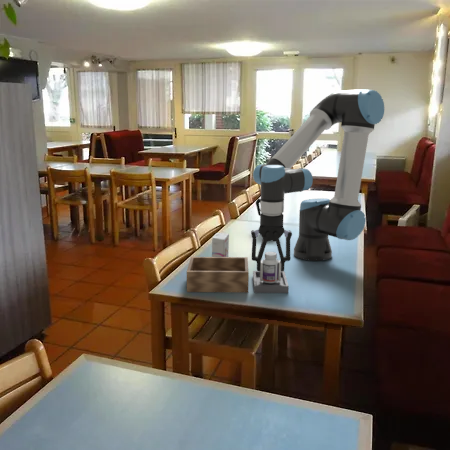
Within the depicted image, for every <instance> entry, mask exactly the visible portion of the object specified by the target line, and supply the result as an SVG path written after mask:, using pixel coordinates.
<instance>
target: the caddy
mask: <svg viewBox="0 0 450 450" xmlns="http://www.w3.org/2000/svg"><path fill="white" fill-rule="evenodd" d="M188 262H189V263H188V265H187V269H186V293H247V294H248V293H249V274H250V273H249V260H248V257H247V256H245V257H243V256H241V257H240V256H238V257H237V256H236V257H235V256H231V257H229V256H228V257H212V256H191V257H190V259H189V261H188Z"/></svg>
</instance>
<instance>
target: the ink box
mask: <svg viewBox="0 0 450 450" xmlns="http://www.w3.org/2000/svg"><path fill="white" fill-rule="evenodd" d="M229 237H230V234H229V233H226V232H225V233H223V232H216V233H215V234H214V235H213V236H212V238H211V257H229V248H230V247H229V246H230V245H229V244H230V243H229V242H230V238H229Z"/></svg>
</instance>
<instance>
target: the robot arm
mask: <svg viewBox="0 0 450 450" xmlns="http://www.w3.org/2000/svg"><path fill="white" fill-rule="evenodd" d="M309 112H310V113H309V116H308V117H307V119H306V120H305V121H304V122H303V123H302V124H301V126H300V127H299V128H298V129H297V130H296V131H295V132H294V133H293V134H292V135H291V136H290V137H289V139H288V140H286V142H285V143H284V144H283V145H282V146H281V147H280V148H279V150H277V151H276V153H275V154H274V155H273V156H272V157H271V158H270V160H269V161H267V162H266V163H263V164H262V163H261V164H258V165H257V166H255V168H254V169H253V172H252V177H253V181H254V182H255V183H256V184H258V185H260V199H261V205H260V206H259V207H260V213H261V214H260V216H259V220H260V221H259V224H260V225H259V227H258V229H256V230H251V231H250V234H251V238H252V241H251V242H252V243H251V261H255V262H256V271H260V281H263V254H265V253H264V252H265V249H266V246H267V243H268V242H275V244H276V247H277V251H278V252H277V253H278V255H279V259H280V260H278V259H277V260H278V261H279V268H278V281H281V271H284V272H285V263H286V262H289V261H291V238H292V236H293V232H292V231H291V230H286V229H285V228H284V214H283V213H284V212H285V211H284V209H285V194H290V193H291V194H292V193H299V192H303V191H308V190H309V189H310V188H311V187H312V185H313V181H314V180H313V179H314V178H313V174H312V172H311V171H310V170H309V169H307V168H301V167H300V168H292V167H293V166H294V165H295V164H296V163H297V162H298V161H299V159H300V158H301V157H302V156H303V155H304V154H305V153H306V152H307V151H308V149H309V148H310V147H311V146H312V145H313V144H314V143H315V142H316V140H317V139H318V138H319V137H320V136H321V135H322V134H323V132H324V131H327V130H329V129H330V128H332V126H334V125H335V124H339V123H340V128H341V129H342V131H343V132H344V133H343V140H342V146H341V152H340V157H339V164H338V169H337V170H338V172H337V177H336V178H337V179H336V182H335V189H334V196H333V197H332V198H330V199H329V198H311V199H305V200H302V201H301V202H300V207H299V211H298V212H299V214H298V215H299V220H298V221H299V223H298V225H299V226H298V227H299V228H298V237H297V240H296V242H295V246H294V247H293V256H294V257H296V258H297V259H300V260H304V261H310V262H311V261H312V262H320V261H322V262H323V261H327V260H330V259H331V258H332V254H333V251H332V246H331V243H330V239H329V236H331V237H334V238H337V239H338V240H345V241H352V240H355V239H356V238H358V237H359V236H360V235H361V234H362V232H363V230H364V229H365V227H366V222H367V220H366V219H367V218H366V215H365V213H364V212H363V211H362V209H361V208H362V204H361V202H360V201H359V196H360V195H359V194H360V189H361V184H362V177H363V170H364V165H365V158H366V153H367V148H368V147H367V146H368V142H369V141H368V140H369V135H370V134H371V133H372V132H374V130H375V126H376V125H377V124H379V123H380V122H382V120H383V118H384V115H385V102H384V99H383V97H382V95H381V93H380V92H378V91H377V90H375V89H365V88H362V89H347V90H345V89H343V90H337V91H335V92H333V93H331V94H328V96H326V97H324V98H323V99H322V100H321V101H319V102H318V103H317V104H316V105H315V106H314V107H313V108H312V109H311V110H310V111H309ZM259 235H260V236H261V237H262V242H261V244H260V247H259V250H258V252H257V238H258V237H259ZM283 235H284V237H285V255H284V252H283V249H282V245H281V242H280V238H281V237H282V236H283ZM257 253H258V254H257ZM256 254H257V256H256Z"/></svg>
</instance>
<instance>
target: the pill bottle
mask: <svg viewBox="0 0 450 450" xmlns="http://www.w3.org/2000/svg"><path fill="white" fill-rule="evenodd" d="M277 253H278V252H275V251H266V252H265V253H264V259H262V261H263V282H266V283H276V282H277V281H278V268H279V261H278V259H277V258H278V255H277Z"/></svg>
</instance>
